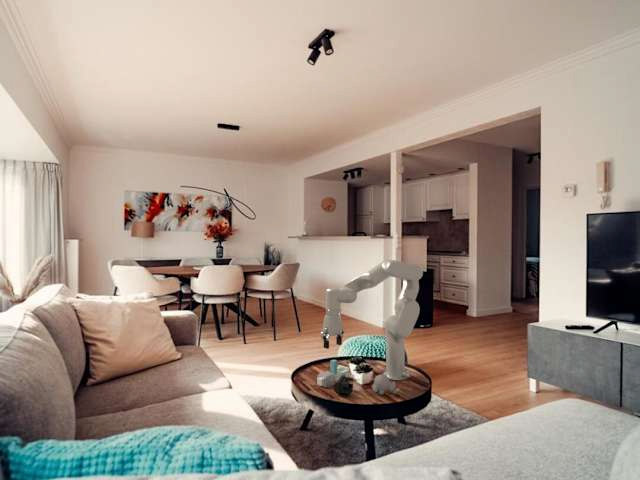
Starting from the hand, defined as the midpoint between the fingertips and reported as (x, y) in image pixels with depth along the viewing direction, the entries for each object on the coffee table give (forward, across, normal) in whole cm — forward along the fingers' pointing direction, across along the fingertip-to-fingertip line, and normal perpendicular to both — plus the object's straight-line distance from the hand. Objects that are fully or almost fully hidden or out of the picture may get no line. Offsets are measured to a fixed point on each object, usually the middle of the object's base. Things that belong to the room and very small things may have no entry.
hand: (332, 346), depth 197 cm
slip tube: (+17, +4, 0) cm, 17 cm away
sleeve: (+18, +5, 0) cm, 18 cm away
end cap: (+18, +7, +13) cm, 24 cm away
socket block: (+18, -6, 0) cm, 19 cm away
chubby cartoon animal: (+18, -5, +28) cm, 34 cm away
